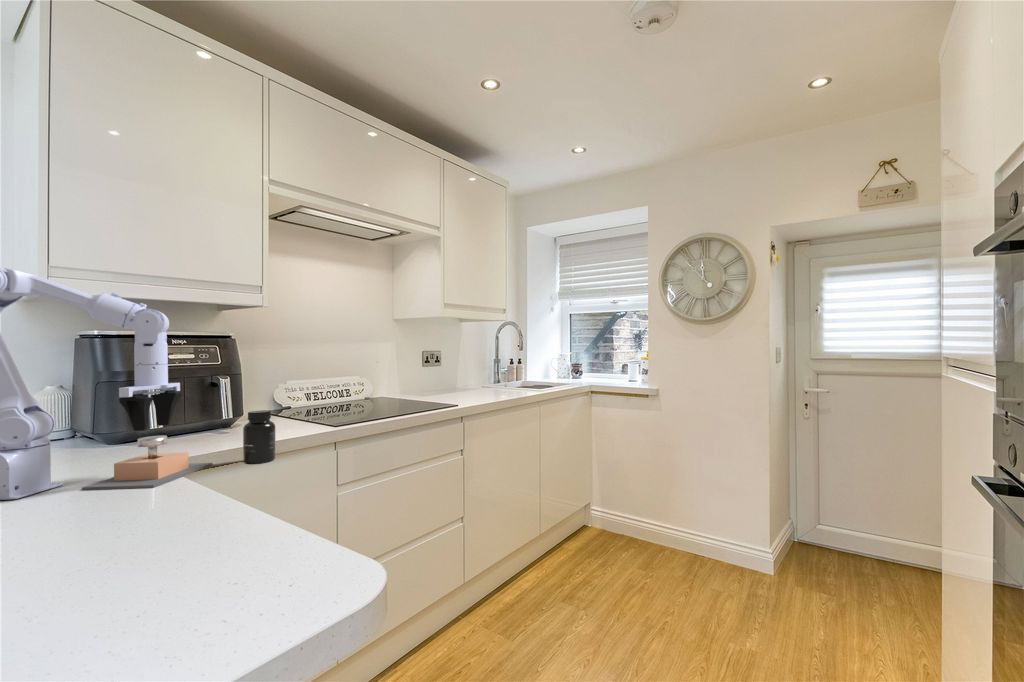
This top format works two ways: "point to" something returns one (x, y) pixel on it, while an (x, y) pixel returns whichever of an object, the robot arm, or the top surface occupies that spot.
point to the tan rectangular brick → (150, 466)
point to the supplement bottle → (259, 438)
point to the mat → (145, 483)
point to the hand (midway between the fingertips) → (152, 427)
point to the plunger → (152, 444)
